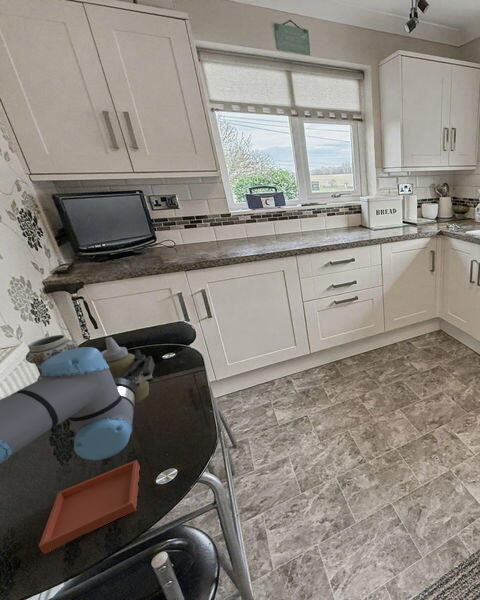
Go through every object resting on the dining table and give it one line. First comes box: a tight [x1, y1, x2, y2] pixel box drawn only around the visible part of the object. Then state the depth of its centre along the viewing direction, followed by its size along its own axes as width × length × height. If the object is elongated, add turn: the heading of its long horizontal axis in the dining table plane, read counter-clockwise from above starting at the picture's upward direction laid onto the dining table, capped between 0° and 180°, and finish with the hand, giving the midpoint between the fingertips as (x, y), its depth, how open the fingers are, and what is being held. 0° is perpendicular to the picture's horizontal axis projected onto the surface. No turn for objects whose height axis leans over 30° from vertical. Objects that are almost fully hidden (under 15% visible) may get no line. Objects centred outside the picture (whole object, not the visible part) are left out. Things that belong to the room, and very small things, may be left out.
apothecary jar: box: [25, 334, 79, 381], centre depth 106 cm, size 12×12×18 cm
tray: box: [38, 459, 141, 555], centre depth 66 cm, size 13×13×2 cm
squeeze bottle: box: [103, 336, 150, 404], centre depth 83 cm, size 8×8×18 cm
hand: (122, 358), depth 87 cm, fingers closed on squeeze bottle, 6 cm apart
